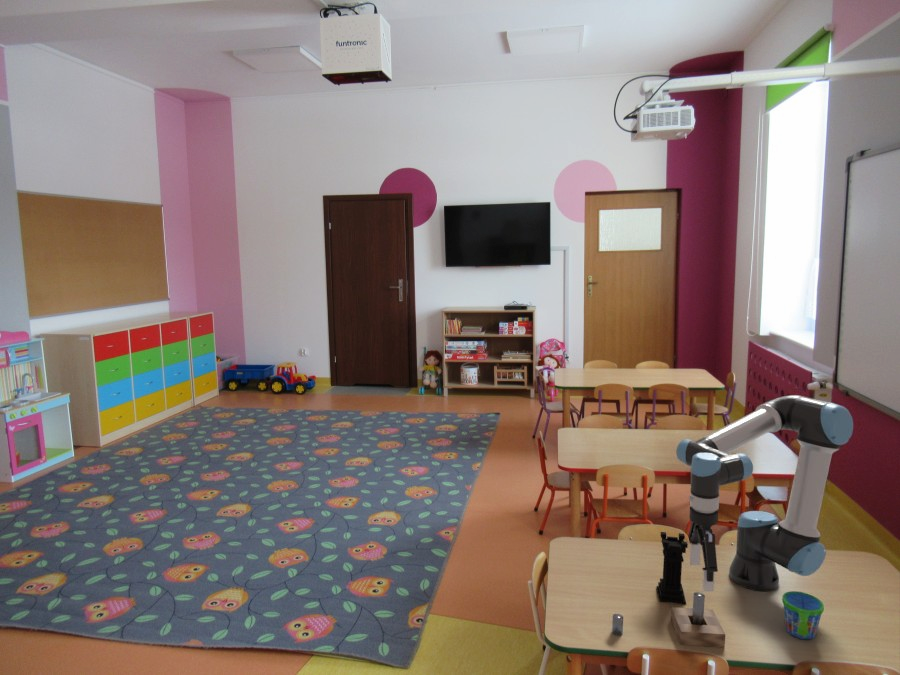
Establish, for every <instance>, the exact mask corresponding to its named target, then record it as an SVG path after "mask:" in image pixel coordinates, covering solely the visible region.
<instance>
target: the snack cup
mask: <svg viewBox="0 0 900 675" xmlns="http://www.w3.org/2000/svg"><path fill="white" fill-rule="evenodd" d="M781 600H782V604H783V611H784V612H783V614H784V622H785V628H786V630H787V633H788V634H790V635H792V636H794V637H795V638H798V639H800V640H811V639H814V638H815V637H816V634H817V631H818V628H819V624H820V621H821V616H822V614H823V612H824V610H825V606H824V603H823V601H821V600H820V599H819V598H817V597H816V596H814V595H812V594H810V593H806V592H802V591H795V590H793V591H787V592H784V593H783V595H782V599H781Z"/></svg>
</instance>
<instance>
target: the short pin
mask: <svg viewBox="0 0 900 675" xmlns="http://www.w3.org/2000/svg"><path fill="white" fill-rule="evenodd" d="M611 623H612V625H611V627H612V628H611V633H612V634H613V635H614V636H617V637H618V636H619V637H620V636H622V635H623V633H624V616H623V615H622V614H620V613H613V614H612V621H611Z"/></svg>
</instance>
